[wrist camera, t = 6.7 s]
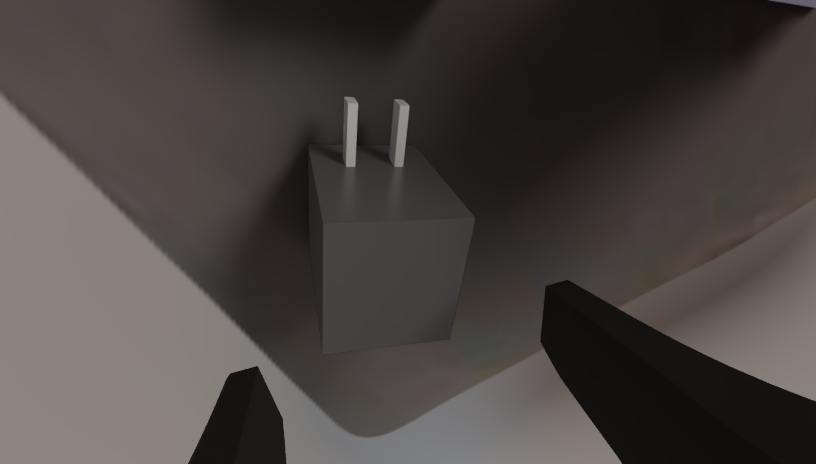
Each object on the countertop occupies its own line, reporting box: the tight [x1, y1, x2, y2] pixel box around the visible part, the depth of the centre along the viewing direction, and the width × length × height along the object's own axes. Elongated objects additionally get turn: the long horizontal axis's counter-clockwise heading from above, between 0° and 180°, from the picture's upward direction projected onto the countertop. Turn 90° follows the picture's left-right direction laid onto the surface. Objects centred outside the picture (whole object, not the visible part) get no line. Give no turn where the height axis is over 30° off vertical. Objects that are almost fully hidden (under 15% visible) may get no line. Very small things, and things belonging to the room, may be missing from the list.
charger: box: [308, 97, 475, 355], centre depth 13 cm, size 4×6×6 cm, turn 175°
